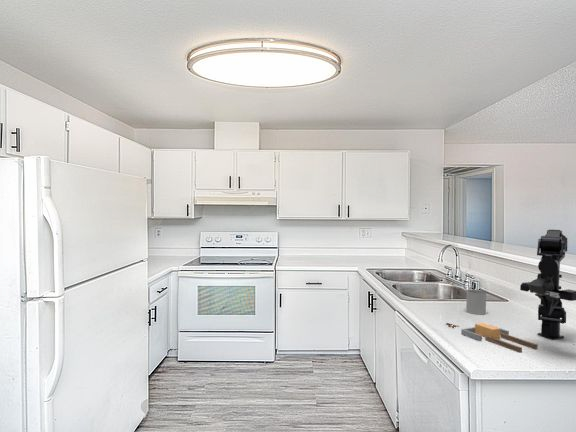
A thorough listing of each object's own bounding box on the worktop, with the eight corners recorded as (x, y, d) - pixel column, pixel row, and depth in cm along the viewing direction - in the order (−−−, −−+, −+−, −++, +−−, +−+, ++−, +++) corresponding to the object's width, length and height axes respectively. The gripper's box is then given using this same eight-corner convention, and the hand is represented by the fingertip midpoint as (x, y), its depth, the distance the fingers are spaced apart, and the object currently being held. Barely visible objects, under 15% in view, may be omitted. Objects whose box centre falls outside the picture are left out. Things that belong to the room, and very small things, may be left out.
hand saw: (407, 316, 189) (407, 314, 189) (413, 314, 192) (413, 313, 192) (453, 329, 169) (453, 328, 169) (460, 327, 172) (460, 326, 172)
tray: (489, 329, 168) (489, 324, 168) (508, 336, 160) (508, 331, 160) (461, 334, 162) (461, 329, 162) (480, 341, 154) (480, 335, 154)
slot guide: (502, 336, 159) (502, 333, 159) (537, 348, 147) (537, 344, 146) (485, 339, 155) (485, 336, 155) (519, 352, 143) (519, 348, 143)
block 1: (482, 332, 165) (482, 322, 164) (490, 335, 161) (491, 325, 161) (474, 333, 163) (475, 323, 163) (483, 336, 159) (483, 326, 159)
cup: (486, 315, 190) (487, 294, 190) (467, 313, 192) (467, 292, 192) (484, 311, 198) (484, 290, 198) (465, 309, 200) (466, 289, 200)
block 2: (490, 335, 161) (491, 325, 161) (499, 338, 157) (500, 328, 157) (483, 337, 159) (483, 326, 159) (492, 340, 156) (492, 329, 156)
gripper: (510, 268, 152) (509, 310, 152) (562, 277, 135) (560, 324, 135) (530, 267, 156) (529, 307, 157) (583, 275, 139) (581, 320, 140)
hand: (548, 314), depth 147 cm, fingers closed
